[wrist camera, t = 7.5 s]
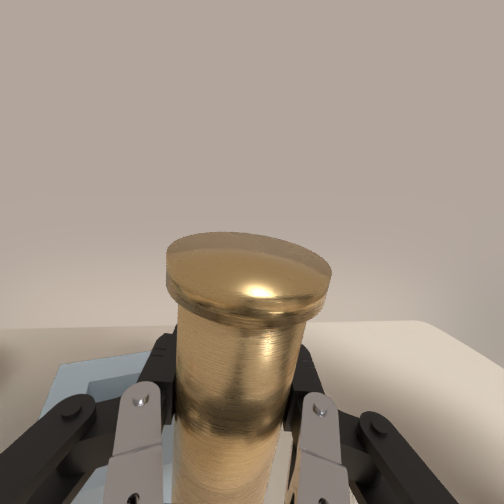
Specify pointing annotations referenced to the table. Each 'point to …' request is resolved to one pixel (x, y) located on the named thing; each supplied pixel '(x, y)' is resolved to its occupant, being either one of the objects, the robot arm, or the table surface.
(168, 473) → the frame
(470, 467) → the table surface
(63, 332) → the table surface
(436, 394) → the table surface
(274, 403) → the brass flanged cylinder
